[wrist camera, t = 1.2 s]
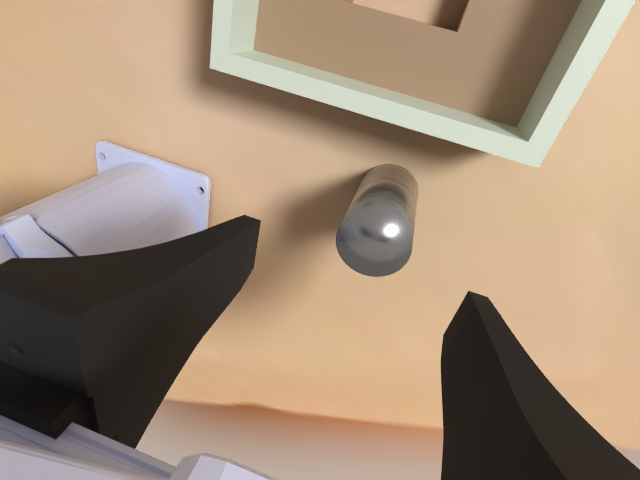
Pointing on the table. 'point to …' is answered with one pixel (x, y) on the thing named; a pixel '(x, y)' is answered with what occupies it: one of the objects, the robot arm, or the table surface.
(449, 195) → the table surface
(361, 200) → the peg
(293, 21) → the box
